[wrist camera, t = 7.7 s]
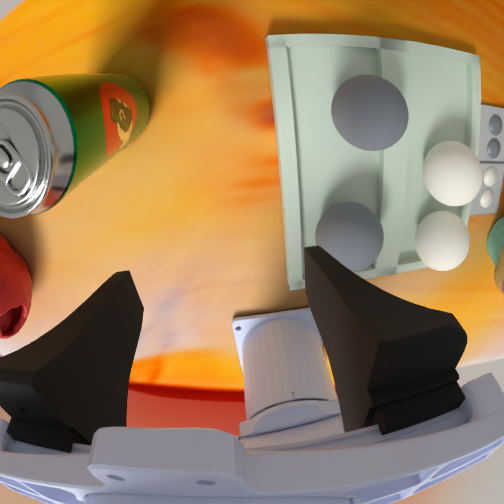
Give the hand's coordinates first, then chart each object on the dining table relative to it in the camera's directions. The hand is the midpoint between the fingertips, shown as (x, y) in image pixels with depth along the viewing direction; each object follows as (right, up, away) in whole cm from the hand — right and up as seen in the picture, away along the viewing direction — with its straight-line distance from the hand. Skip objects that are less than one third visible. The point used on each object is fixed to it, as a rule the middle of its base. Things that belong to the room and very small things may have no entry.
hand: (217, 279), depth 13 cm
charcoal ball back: (+8, +3, +10) cm, 13 cm away
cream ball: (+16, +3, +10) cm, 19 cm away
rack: (+11, +7, +8) cm, 16 cm away
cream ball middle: (+15, +8, +7) cm, 19 cm away
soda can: (-7, +10, +5) cm, 14 cm away
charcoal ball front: (+7, +10, +5) cm, 13 cm away
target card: (+22, +9, +8) cm, 25 cm away
